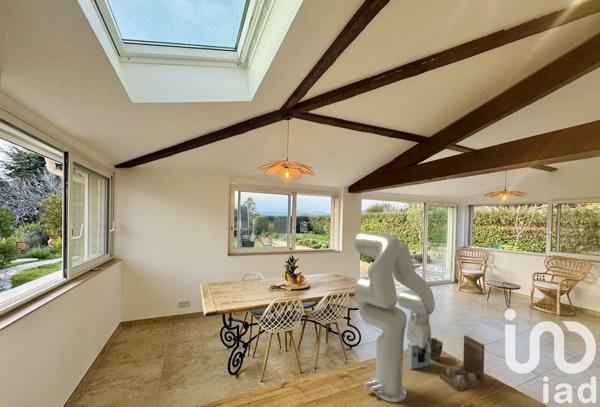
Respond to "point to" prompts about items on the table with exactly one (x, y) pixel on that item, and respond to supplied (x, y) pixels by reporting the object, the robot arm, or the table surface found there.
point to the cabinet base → (467, 367)
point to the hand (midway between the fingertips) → (418, 359)
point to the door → (416, 357)
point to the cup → (435, 349)
